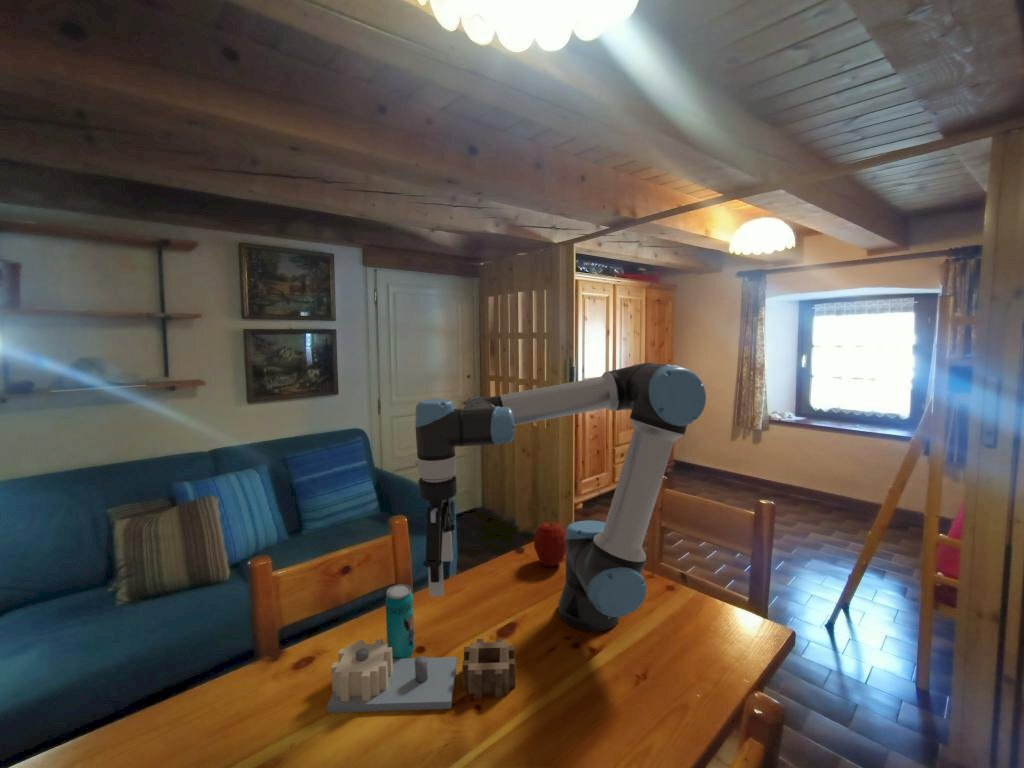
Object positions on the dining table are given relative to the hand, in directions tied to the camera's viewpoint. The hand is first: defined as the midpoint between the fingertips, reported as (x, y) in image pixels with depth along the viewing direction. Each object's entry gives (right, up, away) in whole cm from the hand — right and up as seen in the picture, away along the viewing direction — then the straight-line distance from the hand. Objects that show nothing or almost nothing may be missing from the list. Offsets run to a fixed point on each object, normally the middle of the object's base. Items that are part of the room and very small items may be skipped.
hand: (441, 576), depth 95 cm
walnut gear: (+10, -20, -1) cm, 23 cm away
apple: (+26, -15, +46) cm, 55 cm away
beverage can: (-10, -20, +6) cm, 23 cm away
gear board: (-9, -21, -3) cm, 23 cm away
